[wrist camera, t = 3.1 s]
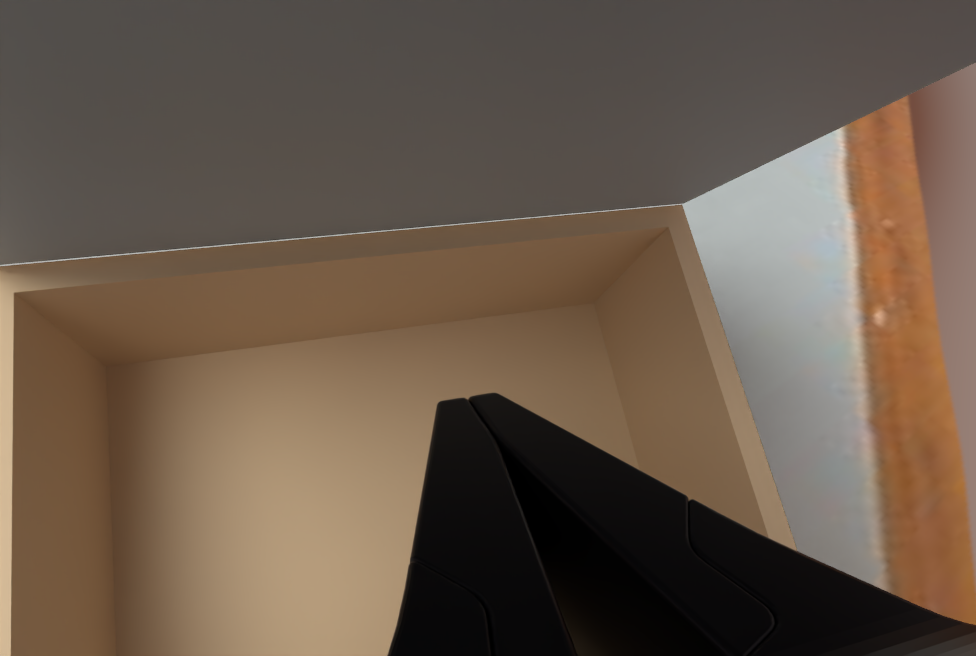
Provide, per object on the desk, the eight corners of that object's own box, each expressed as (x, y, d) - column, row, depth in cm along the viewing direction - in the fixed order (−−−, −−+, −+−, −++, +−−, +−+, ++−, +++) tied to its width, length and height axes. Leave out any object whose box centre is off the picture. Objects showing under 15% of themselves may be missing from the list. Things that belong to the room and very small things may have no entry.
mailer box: (745, 817, 18) (924, 933, 12) (108, 1064, 14) (-50, 1406, 8) (598, 291, 23) (682, 204, 17) (89, 355, 18) (-21, 268, 13)
